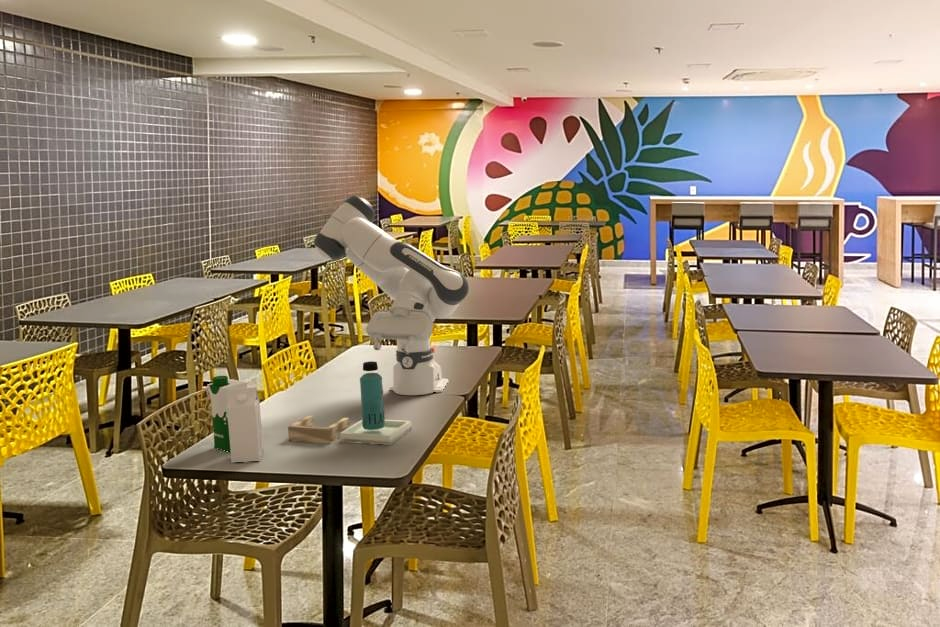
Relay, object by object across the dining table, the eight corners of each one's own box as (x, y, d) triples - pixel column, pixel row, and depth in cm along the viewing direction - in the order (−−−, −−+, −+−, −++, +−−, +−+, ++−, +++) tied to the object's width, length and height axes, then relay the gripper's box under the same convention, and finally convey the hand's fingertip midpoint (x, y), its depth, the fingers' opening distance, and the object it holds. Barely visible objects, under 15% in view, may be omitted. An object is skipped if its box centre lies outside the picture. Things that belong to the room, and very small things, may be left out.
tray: (364, 426, 254) (363, 418, 254) (412, 429, 250) (411, 421, 249) (340, 441, 241) (339, 433, 240) (390, 445, 236) (389, 436, 235)
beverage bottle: (366, 436, 241) (362, 365, 238) (359, 430, 247) (354, 361, 244) (389, 432, 244) (385, 362, 241) (380, 427, 250) (376, 358, 246)
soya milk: (209, 448, 239) (203, 377, 236) (237, 440, 246) (232, 370, 243) (227, 454, 234) (221, 381, 230) (256, 445, 240) (250, 374, 237)
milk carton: (236, 455, 232) (230, 385, 229) (263, 453, 233) (258, 384, 230) (231, 463, 225) (225, 392, 222) (259, 462, 226) (253, 390, 223)
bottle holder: (309, 428, 254) (308, 415, 254) (349, 431, 250) (348, 418, 249) (288, 440, 244) (287, 426, 243) (330, 443, 239) (329, 429, 239)
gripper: (371, 303, 259) (355, 342, 251) (432, 305, 249) (416, 345, 242) (380, 315, 263) (364, 354, 256) (440, 318, 254) (425, 358, 247)
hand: (390, 350), depth 249 cm, fingers open, 8 cm apart
